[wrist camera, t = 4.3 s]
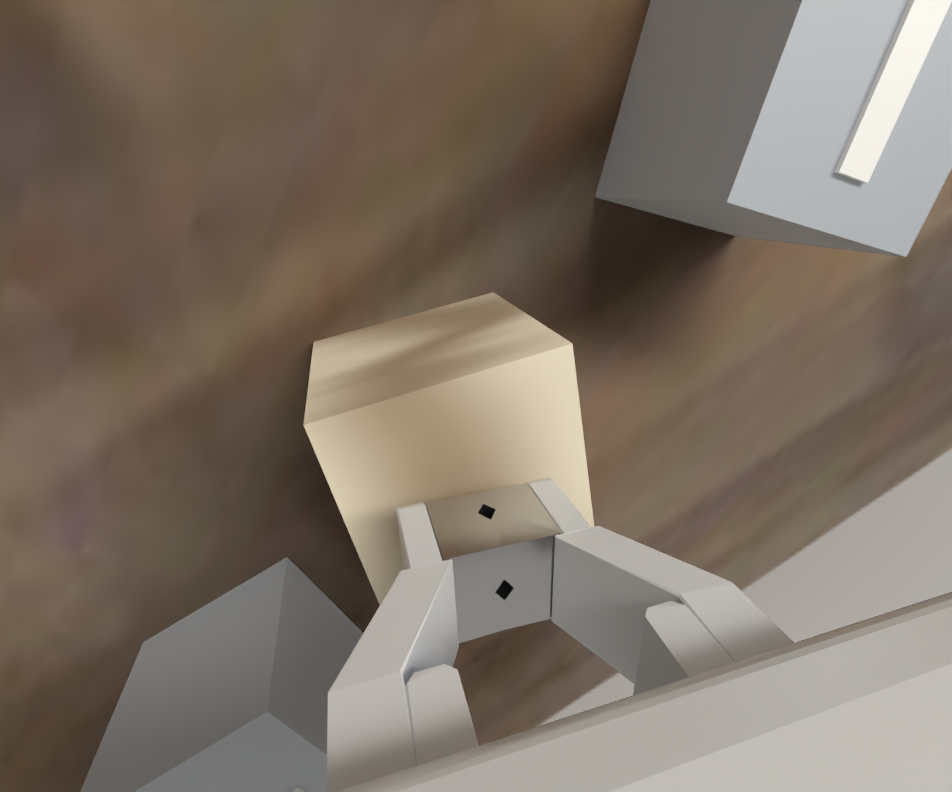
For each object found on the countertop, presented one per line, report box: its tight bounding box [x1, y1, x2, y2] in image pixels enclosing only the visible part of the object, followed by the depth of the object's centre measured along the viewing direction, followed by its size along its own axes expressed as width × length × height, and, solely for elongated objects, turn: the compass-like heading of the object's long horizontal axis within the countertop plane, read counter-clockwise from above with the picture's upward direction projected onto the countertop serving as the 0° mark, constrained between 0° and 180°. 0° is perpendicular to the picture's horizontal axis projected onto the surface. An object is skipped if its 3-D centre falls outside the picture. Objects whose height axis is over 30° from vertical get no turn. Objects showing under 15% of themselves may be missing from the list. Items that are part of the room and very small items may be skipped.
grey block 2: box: [595, 0, 952, 257], centre depth 11 cm, size 5×5×5 cm
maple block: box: [303, 292, 594, 605], centre depth 12 cm, size 5×5×5 cm
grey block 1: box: [80, 557, 363, 792], centre depth 14 cm, size 5×5×5 cm
